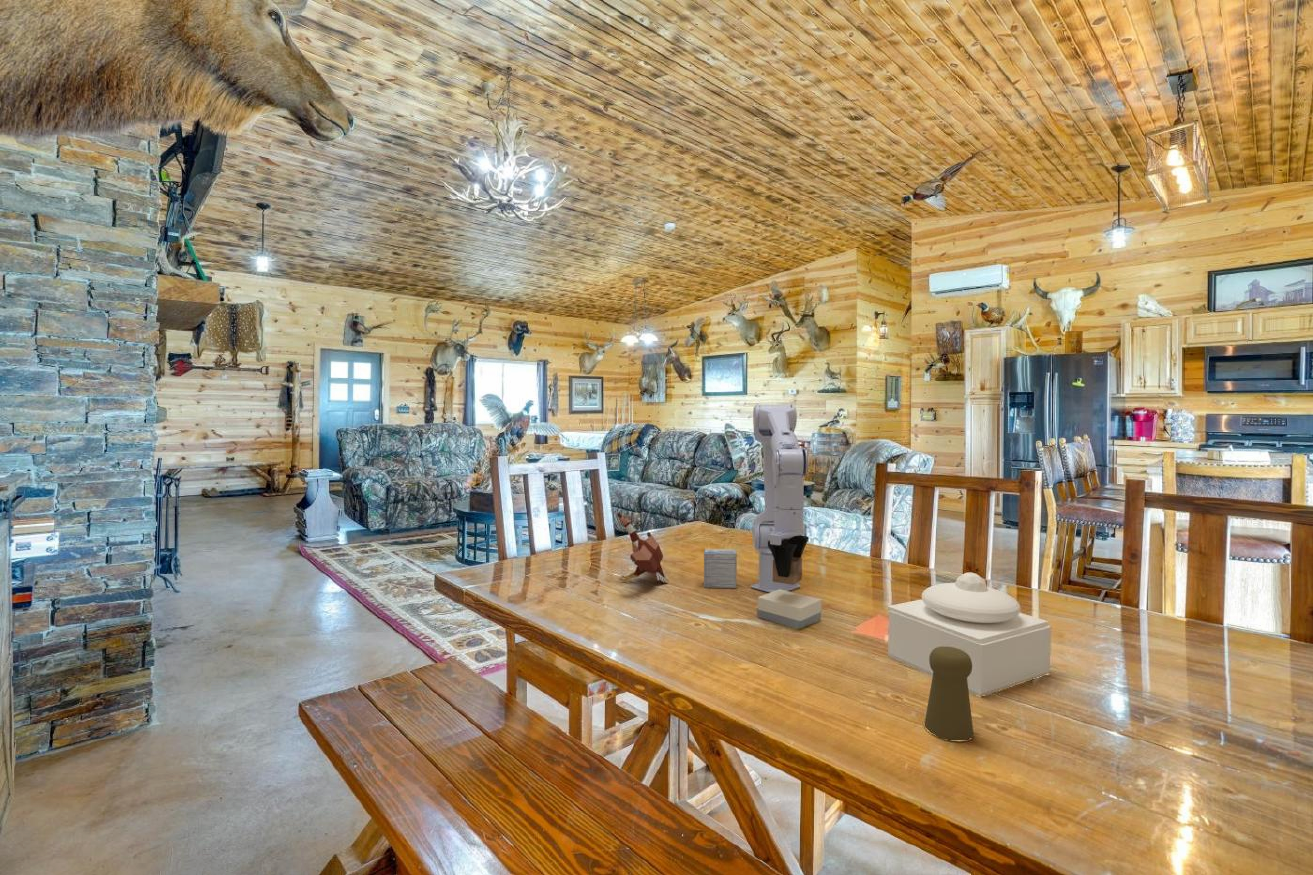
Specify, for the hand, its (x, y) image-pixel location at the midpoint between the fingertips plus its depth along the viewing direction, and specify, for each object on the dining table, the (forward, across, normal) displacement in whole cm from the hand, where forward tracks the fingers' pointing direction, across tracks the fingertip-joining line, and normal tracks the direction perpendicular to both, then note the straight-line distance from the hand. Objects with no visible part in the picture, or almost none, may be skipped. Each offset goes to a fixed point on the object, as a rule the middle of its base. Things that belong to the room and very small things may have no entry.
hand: (788, 573), depth 127 cm
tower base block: (+10, 0, 0) cm, 10 cm away
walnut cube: (+2, 0, 0) cm, 2 cm away
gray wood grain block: (+10, -13, -22) cm, 28 cm away
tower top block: (+8, 0, 0) cm, 8 cm away
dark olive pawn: (+10, +30, +34) cm, 47 cm away
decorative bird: (+10, -6, -40) cm, 41 cm away
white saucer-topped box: (+10, +5, +33) cm, 35 cm away
